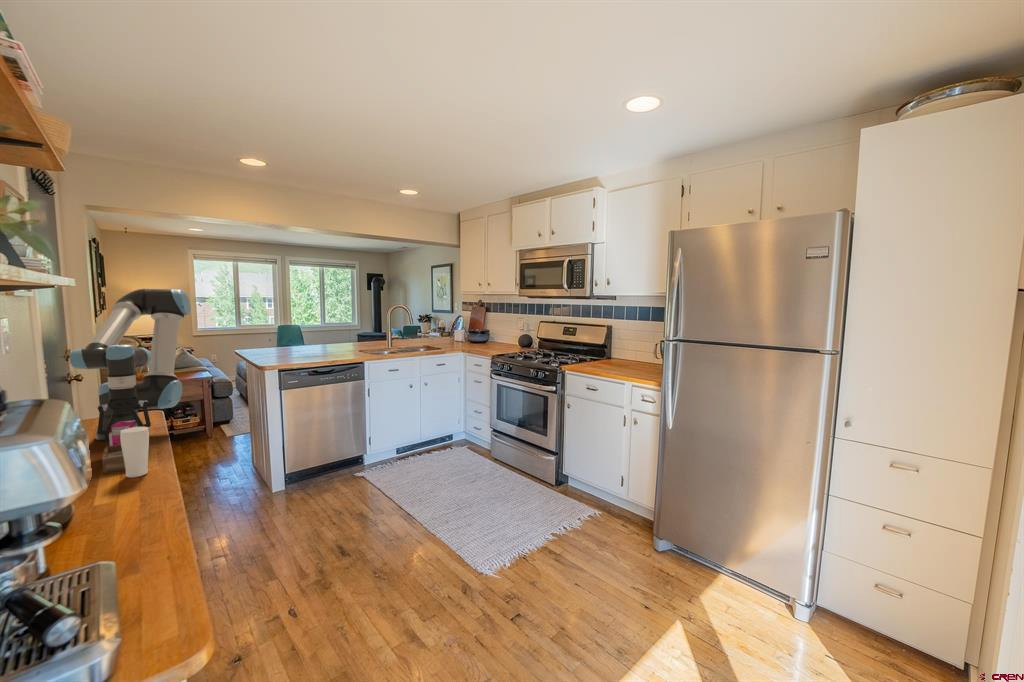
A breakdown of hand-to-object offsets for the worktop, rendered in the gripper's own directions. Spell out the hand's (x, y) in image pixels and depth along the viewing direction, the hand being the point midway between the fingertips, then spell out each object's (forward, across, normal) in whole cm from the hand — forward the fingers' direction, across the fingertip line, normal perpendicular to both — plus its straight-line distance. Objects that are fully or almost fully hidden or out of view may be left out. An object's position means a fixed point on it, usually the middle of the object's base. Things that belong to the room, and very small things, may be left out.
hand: (126, 448), depth 158 cm
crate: (+2, 0, -14) cm, 14 cm away
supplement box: (+2, 0, 0) cm, 2 cm away
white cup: (+2, +3, -30) cm, 30 cm away
